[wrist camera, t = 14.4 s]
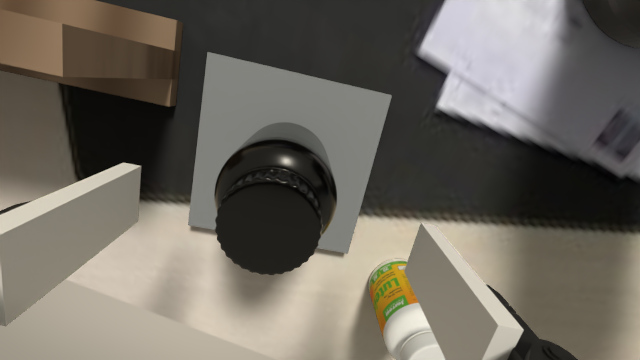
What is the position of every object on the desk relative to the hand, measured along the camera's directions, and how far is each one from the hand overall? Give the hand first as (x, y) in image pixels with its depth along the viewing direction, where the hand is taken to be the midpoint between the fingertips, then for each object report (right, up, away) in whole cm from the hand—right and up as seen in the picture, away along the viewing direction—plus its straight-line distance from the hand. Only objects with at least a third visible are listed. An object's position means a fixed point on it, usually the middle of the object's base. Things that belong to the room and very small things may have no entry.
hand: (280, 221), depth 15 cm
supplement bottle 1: (-1, +3, +11) cm, 11 cm away
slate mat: (-1, +4, +12) cm, 12 cm away
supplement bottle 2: (+9, -8, +16) cm, 20 cm away
